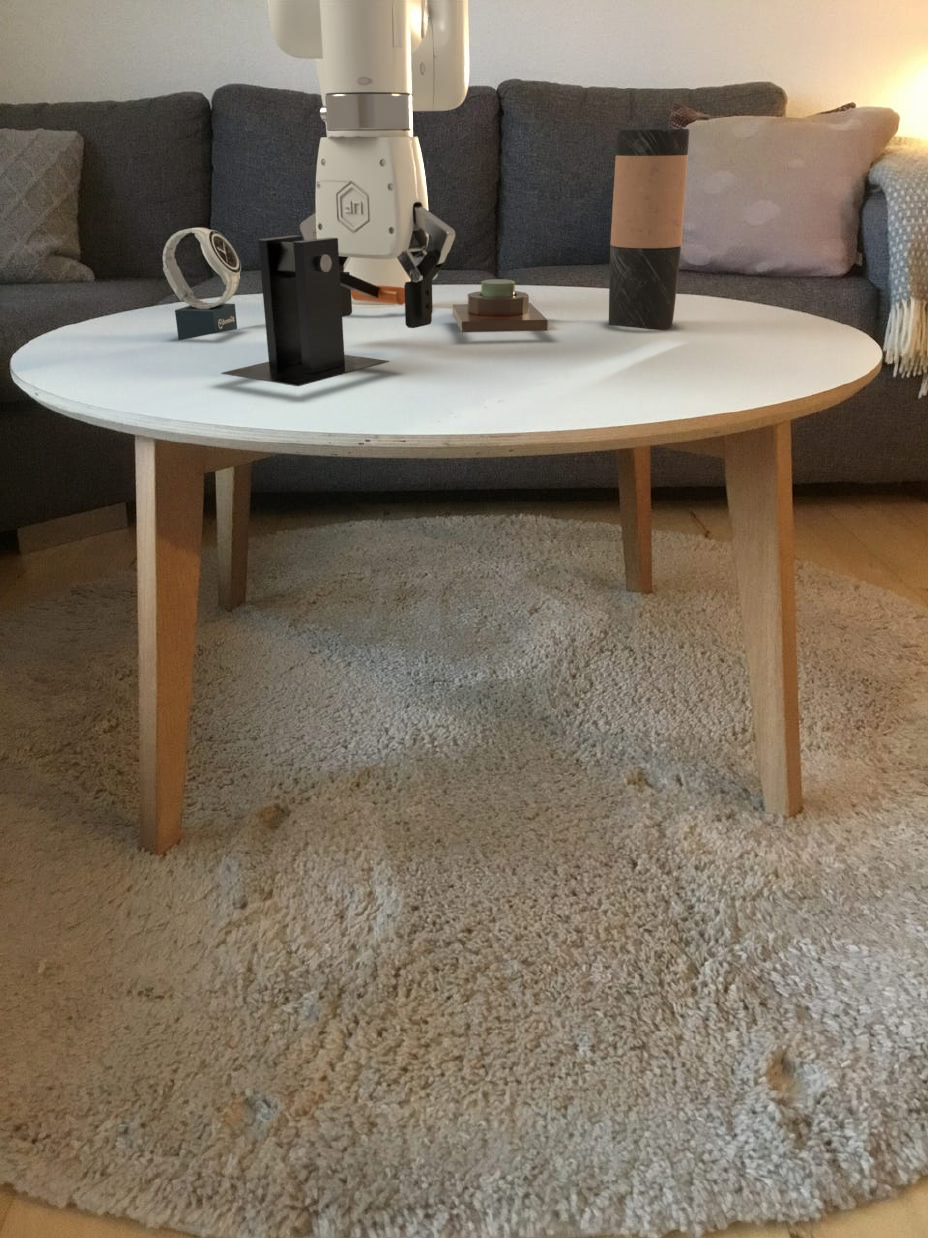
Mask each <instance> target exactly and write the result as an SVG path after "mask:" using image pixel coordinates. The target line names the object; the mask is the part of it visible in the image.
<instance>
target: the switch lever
mask: <svg viewBox="0 0 928 1238" xmlns="http://www.w3.org/2000/svg"><path fill="white" fill-rule="evenodd" d="M277 271H279V272H282V273H285V274H287V275H290V276H292V277H295V278H296V273H295V260H294V246H293V242H281V248H280V254H279V260H278V267H277ZM340 286H343V287H345V288H348V289H350V290H351V295H352V297H353V299H354V300H357V301H367V302H377V303H386V304H396V305H403V304H404V303H405V290H404V288H403V287H393V286H382V285H373V284H371V283H369V282H366V281H364V280H361V279H359V278H357V277H354V276H352V275H350V274H347V273H345V272H343V271H340Z"/></svg>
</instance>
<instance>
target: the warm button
mask: <svg viewBox="0 0 928 1238" xmlns="http://www.w3.org/2000/svg"><path fill="white" fill-rule="evenodd" d="M480 284H481V287H480V288H481V290H480V291H481V296H484V297H512V296H515V291H516V281H515V280H512V279H504V278H503V279H501V278H498V279H496V278H495V279H484V280H482V281H481V282H480Z"/></svg>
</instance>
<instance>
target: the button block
mask: <svg viewBox="0 0 928 1238" xmlns="http://www.w3.org/2000/svg"><path fill="white" fill-rule="evenodd" d="M466 297H467V303H461V304H455V303H453V304H451V305H452V307H451V309H452V310H451V311H452V312H451V313H452V314H451V315H452V316H453V318H454V320H455V322H456V324H457V326H458V329H459V330H460V332H461V333H491V332H494V333H495V332H496V333H497V332H529V331H530V332H532V331H533V332H534V331H536V332H537V331H539V332H541V331H548V328H549V327H548V325H549V323H548V322H549V319H548V318H547V317H546V316H544V315H543V314H542V313H541V312H540V311H539V310H538V309H537V308H536V307H535V306H534V305H533V304H532V303H530V295H529V294H528V293H527V292H524V291H518V290H515V296H512V297H484V296H481V290H479V291H472V292H470V293H468V294H467V296H466Z"/></svg>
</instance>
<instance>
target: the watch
mask: <svg viewBox="0 0 928 1238" xmlns="http://www.w3.org/2000/svg"><path fill="white" fill-rule="evenodd" d="M190 233H192V234H194V237H195V238H196V239H197V241H199V243H200V249H201V251H202V255H203V256H204V258H205V260H206V261H207V263H208V265H209V266H210V267H211V269H212V270H213V271H214V272H215V273H216V274H217V275H219V276H220V278H221V280H222V283H223V284H224V285H225V290H224V291H223V294H222V296H221V297H220V298H219V299H218V300H217V301H216V302H206V301H203V300H200V299H198V298H196V296H194V291H193V290H192V289H191V287H190V286H189V284H188V283H187V281H186V279H185V277H184V275H183V274H182V273H183V272H182V270H181V269H180V267H179V265H177V264H178V263H177V259H176V258H175V253H176V248H177V246H178V244H179V242H181V240H182V239H183V238H184V237H185V236H186V235H188V234H190ZM162 265H163V267H162V271H163V273H164V275H165V278H166V280H167V282H168V284H169V286H170V287H171V289H172V291H173V292H174V294H175V295H176V296H177V298H178V299H179V301H181V302H183V303H185V304H187V305H186V306H184V307H180V308H178V309H175V310H174V313H175V320H176V321H175V323H176V331H177V338H178V341H183V340H187V339H188V340H189V339H195V338H198V337H203V336H208V335H214V334H219V333H224V332H229V331H234V330H235V331H236V330H238V323H237V311H236V303H227V302H229V301H230V300H231V299H232V298H233V296H234V295H235V293H236V292H237V290H238V287H239V284H240V280H241V276H240V275H241V274H240V273H241V271H242V264H241V260H240V258H239V255H238V252H237V251H236V249H235V248H234V246H233V245H232V243H231V242H230V241H229V240H228V239H227V237H225V235H223V234H222V233H221V232H219V231H217V230H213V229H209V228H207V227H192V228H186V229H185V228H184V229H181V230H179V231H177V232H175V233H173V234H172V235H171V236H170V237H169V238H168V240H167V241H166V243H165V246H164V247H163V252H162Z"/></svg>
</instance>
